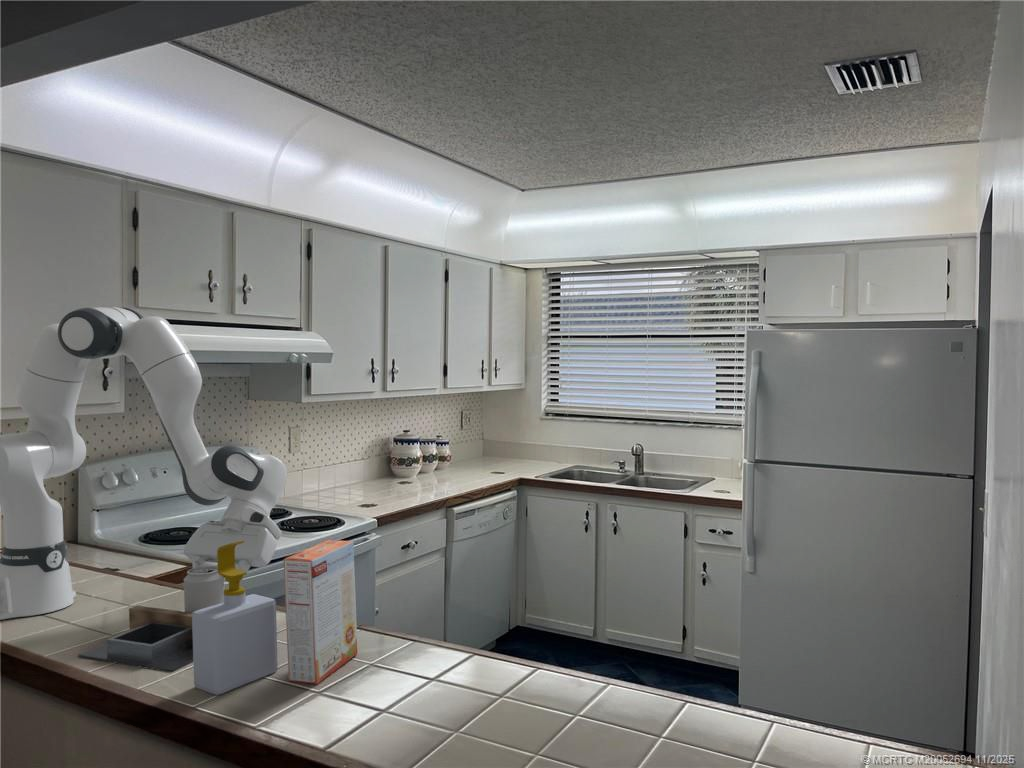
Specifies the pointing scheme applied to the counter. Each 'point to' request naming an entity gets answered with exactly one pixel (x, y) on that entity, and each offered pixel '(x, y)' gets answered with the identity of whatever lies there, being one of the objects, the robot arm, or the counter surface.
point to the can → (203, 588)
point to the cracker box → (320, 610)
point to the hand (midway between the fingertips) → (211, 580)
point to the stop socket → (149, 647)
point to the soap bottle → (233, 634)
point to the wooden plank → (157, 616)
